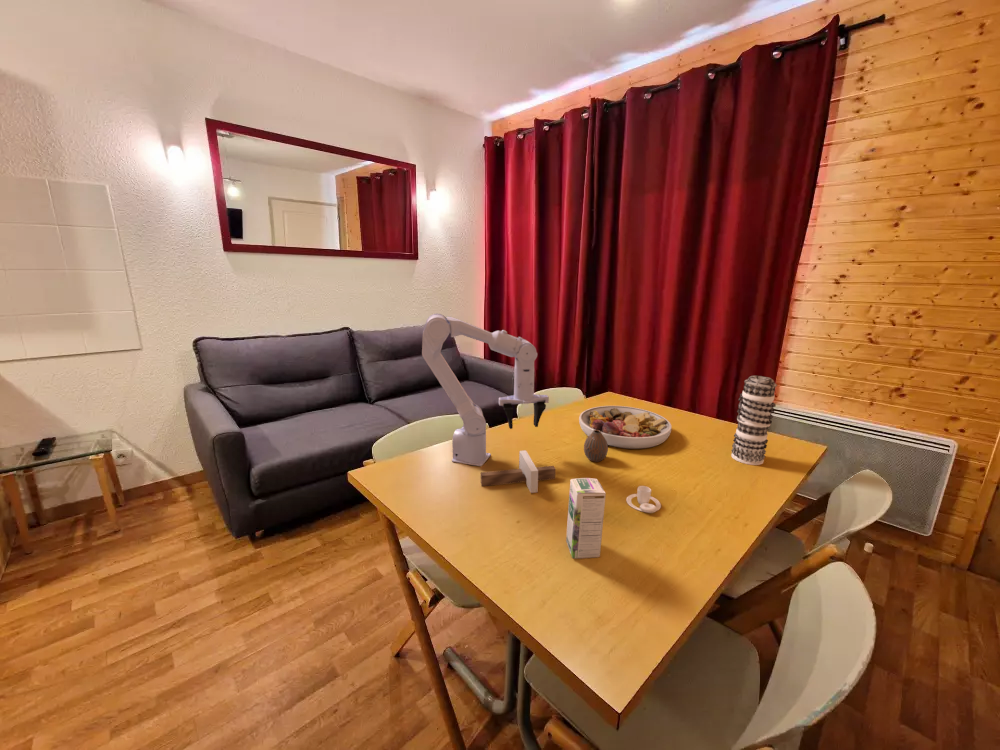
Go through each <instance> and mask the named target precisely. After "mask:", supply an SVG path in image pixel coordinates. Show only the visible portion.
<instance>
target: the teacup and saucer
mask: <svg viewBox="0 0 1000 750" xmlns="http://www.w3.org/2000/svg"><path fill="white" fill-rule="evenodd" d="M636 490H637V491H636V492H637V493H632V494H629V495H628V496H627V497H626V503H627V505H628V506H630V508H632V509H634V510H636V511H639V512H644V513H647V514H653V513H655V512H658V511H659V510H660V509H661V508H662V504H661V502H660V501H659V499H657V498H655V497H653V496H651V495H652V489H651V488H650V487H649V486H646V485H639V486H638V487H637V489H636ZM635 497H637V502H638V504H639V507H637V506H636V505H634V504H633V503H632V499H633V498H635ZM651 500H652V501H653V502H654V503H655V505H654V504H653V503H649V502H650V501H651Z"/></svg>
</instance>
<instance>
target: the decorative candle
mask: <svg viewBox="0 0 1000 750" xmlns="http://www.w3.org/2000/svg"><path fill="white" fill-rule="evenodd" d="M743 382H744V385H743V390H742V393H739V398H738V401H739V403H738V406H737V407H738V409H737V411H736V412H737V413H738V415H737V416H736V420H737V422H738V423H737V428H736V431H735V433H734V435H733V437H734V438H733V440H732V441H733V443H732V448H731V451H730V452H731V454H730V456H731V458H732V459H733V460H735V461H737V462H739V463H742V464H746V465H750V466H759V465H762V464H764V463H765V462H764V461H765V457H766V453H767V451H766V450H765V449H767V447H768V445H767V444H768V442H769V440H768V429H769V427H770V426H771V424H772V420H771V419H773V417H774V416H773V415H772V413H774V412H775V407H776V403H774V400H775V396H776V395H775V391H776V387H777V386H778V384H777V383H775V380H774V379H772V378H771V377H768V376H765V375H764V376H762V375H751V376H749V377H748V378H747V379H745V380H743Z"/></svg>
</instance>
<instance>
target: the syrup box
mask: <svg viewBox="0 0 1000 750" xmlns="http://www.w3.org/2000/svg"><path fill="white" fill-rule="evenodd" d="M569 481H570V482H569V483H570V484H569V493H568V494H569V497H568V505H567V506H568V509H567V523H566V524H567V525H566V537H565V538H566V539H565V541H566V544H567V548H568V549H569V553H570V555H571V558H572V559H589V558H590V559H591V558H599V557H601V551H602V550H601V546H602V537H603V527H604V526H603V524H604V516H605V515H604V514H605V505H606V494H607V493H606V491H605V490H604V488H603V486H602V485H601V483H600V481H599V480H598V479H597V478H594V477H593V478H591V477H580V478H579V477H578V478H571V479H570V480H569Z"/></svg>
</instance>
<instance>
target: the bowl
mask: <svg viewBox="0 0 1000 750" xmlns="http://www.w3.org/2000/svg"><path fill="white" fill-rule="evenodd" d="M578 421H579V425H580V428H581V430H582V432H584V434H585V435H586V436H587V437H588V436H589V435H590V434H591V433H592V432H593V430H599V431H601V433H602V435H603V436H604V438H605V439H606V441H607V444H608V446H611V447H615V448H621V449H635V450H637V449H638V450H639V449H648V448H652V447H656V446H658V445H660V444H662V443H664V442H665V441H666V440H668V438H669V437H670V435H671V433H672V424H671V422H670V421H669V420H668V419H667V418H665V417H664V416H662V415H660V414H658V413H656V412H653V411H650V410H648V409H647V410H646V409H643V408H638V407H633V406H627V405H625V406H624V405H623V406H622V405H601V406H595V407H591V408H588V409H585V410H584V411H582V412H581V413H580V414H579V417H578Z"/></svg>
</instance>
